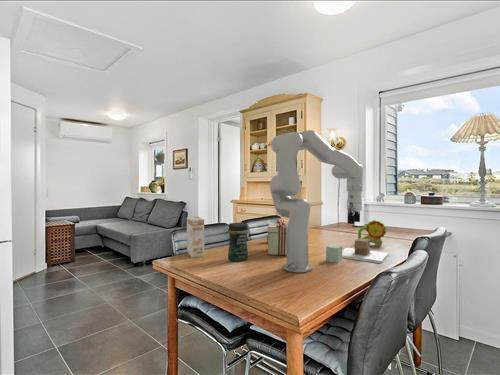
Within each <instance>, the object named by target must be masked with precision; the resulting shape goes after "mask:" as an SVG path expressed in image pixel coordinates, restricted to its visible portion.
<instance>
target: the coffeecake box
mask: <svg viewBox="0 0 500 375" xmlns="http://www.w3.org/2000/svg"><path fill="white" fill-rule="evenodd" d="M186 252H187V254H188V255H189V256H190V257H191V258H193V259H194V258H201V257H202V258H205V257H206V256H205V219H204V218H202V217H200V216H187V217H186Z"/></svg>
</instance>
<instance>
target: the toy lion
mask: <svg viewBox="0 0 500 375" xmlns="http://www.w3.org/2000/svg"><path fill="white" fill-rule="evenodd" d="M363 230H364V231H366V232H367V233H368V235H365V236H362V231H363ZM386 234H387V226H386V225H385V223H384V222H381V221H380V220H376V219H373V220H370V221H369V222H368V223H366V225H365V226H362V227H360V228H359V229H358V232H357V239H368V240H370V243H372V244H374V245H375V246H376V247H382V244H383V240H382V238H383V237H385V236H386Z"/></svg>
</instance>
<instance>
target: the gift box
mask: <svg viewBox="0 0 500 375" xmlns="http://www.w3.org/2000/svg"><path fill="white" fill-rule="evenodd" d="M287 224H288V222H285V220H284V219H277V220H276V222H275V223H274V222H269V223H268V226H267V234H268V241H267V254H268V255H275V256H277V255H278V256H287V233H286V229H287Z"/></svg>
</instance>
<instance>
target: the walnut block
mask: <svg viewBox="0 0 500 375" xmlns="http://www.w3.org/2000/svg"><path fill="white" fill-rule="evenodd" d="M370 243H371V242H370V240H368V239H358V238H356V239H355V240H354V249H355V254H358V255H366V256H367V255H368V254H369V253H370V251H371V250H370V249H371V244H370Z"/></svg>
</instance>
